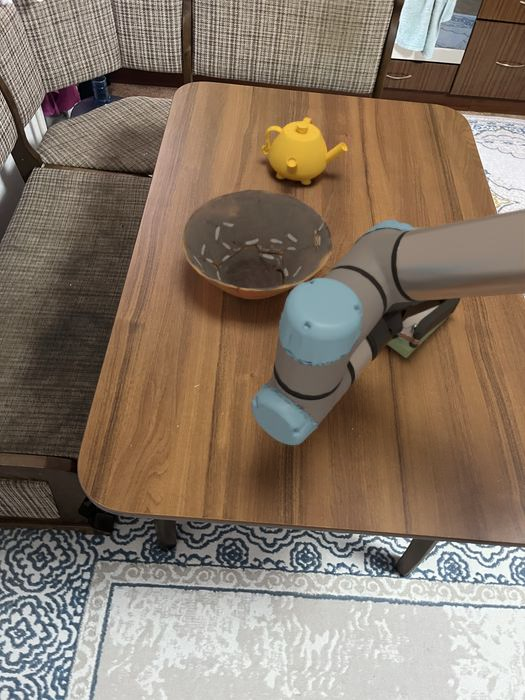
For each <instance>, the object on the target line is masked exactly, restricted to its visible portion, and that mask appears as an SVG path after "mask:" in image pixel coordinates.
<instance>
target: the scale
mask: <svg viewBox="0 0 525 700" xmlns="http://www.w3.org/2000/svg"><path fill="white" fill-rule="evenodd" d="M437 307H438V306H436V307H434V308H431V309H429V310H426V311H424V312H421V313H419V314H416V315H414V316H411V317H409V318H407V319H406V320H405V321H403V327H404V328H408V327H409V326H411V325H413V324H414V323H415V324H417V325H418V323H419V322H420V320H422V319H423V318H424V317H425V316H427V315H428V314H429V313H430V312H432V311H433V310H434V309H436V308H437ZM449 317H450V316H448V317H447V318H446V319H445V320H443V321H442V322H441V323H440V324H438V325H437V326H436V327H435V328H433V329H432V330H431V331H430V332H428V333H427V334H426V335H425V336H423V337H422V339H421V341H420V343H419V345H418V347H420V346H421V344H423V343H424V342H425V341H426V340H427V339H428V338H429V337H430V336H431V335H432V334H433V333H434V332H435V331H436V330H437V329H438V328H439V327H440V326H441V325H442V324H443V323H444V322H445V321H447V320H448V318H449ZM386 346H388V347H390V348H391V349H393V350H394V351H395V352H397V353H398V354H400V355H401V356H402V357H404V358H405V359H407V358H408V357H409V356H410V355H411V354H412V353H414V352H415V350H417V348H412V347H410V346H409V341H408V340H405V339H403V338H401V337H398V338H396V339H393V340H391V341H389V343H388V344H387V345H386Z"/></svg>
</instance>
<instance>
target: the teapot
mask: <svg viewBox="0 0 525 700" xmlns="http://www.w3.org/2000/svg"><path fill="white" fill-rule="evenodd" d="M271 132H276V133H277V135H276V136H275V137H274V139H273V141H272V142H271V138H270V135H271V134H270V133H271ZM347 151H348V146H347V144H346V143H345V142H343V141H341V142H340V143H338V144H337V145H336V146H334V147H333V148H332V149H330V150H329V151H328V148H327V144H326V141H325V139H324V137H323V134H322V132H321V131H320V129H319V128H318V127H317V126H315V125H314V124H313V120H312V118H310V117H307V116H305V117H304V118H303V120H300V121H299V120H298V121H293V122H289V123H287V124H286V125H285V126H284V127H281V126H279V125H270V126H269V127H268V128H267V129H266V131H265V144H263V145H262V146H261V153H262V154H263V155H265V156H268V161H269V164H270V166H271V167H272V169H273V170H274V171H275V172H276V174H275V176H276V178H277V179H278V180H284V179H288V180H291V181H297V182H299V181H300V183H301V184H302V185H306V186H308V185H310V184H312V179H314V178H316V177H317V176H319V175H321V174H322V173H323V172H325V171H324V170H325V169H326V168H327V167H328V164H330V163H331V162H333V161H334V160H335V159H337V158H338V157H340V156H341V155H343V154H345V153H346V152H347Z"/></svg>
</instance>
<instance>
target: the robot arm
mask: <svg viewBox="0 0 525 700" xmlns="http://www.w3.org/2000/svg"><path fill="white" fill-rule="evenodd" d="M414 228H415V227H414V226H412V225H410V224H409V223H406V222H401V221H397V220H396V219H387V220H382V221H379V222H378V223H376V224H374V225H373V226H372V227H371V228H369V230H368V231H366V232H364V233H363V234H362V235H361V236H360V237H358V238H357V239H356V241H355V242H354V243H353V245H352V247H351V248H350V249H349V250H348V251H347V252H346V253H345V254H344V256H342V258H341V259H340V260H338V262H337V263H336V264H335V265H333V267H332V268H331V270H330V271H329V272H328V273H326V275H324V276H323V277H315V278H311V279H310V280H307V281H306V282H302V283H300V284H298V285H297V286H296V287H294V288H292V289H291V291H290V292H289V294H288V295H287V297H286V299H285V302H284V306H283V310H282V312H281V313H280V319H279V321H278V335H277V336H278V337H277V344H276V350H275V359H274V361H273V362H274V363H273V369H272V375H271V377H270V379H269V380H268V381H267V382H266V383H263V384H262V385H261V386H260V388H259V390H258V391H257V392H256V394H255V395H254V397H253V398H252V400H251V402H250V409H251V413H252V416H253V417H254V420H255V421H256V423H257V424H258V425H259V427H260V428H261V429H262V430H264V432H265V433H267V434H268V435H269V436H271V438H273V439H274V440H276V441H277V442H279V443H281V444H285V445H287V446H297V445H301V444H302V443H303V442H304V441H306V439H307V438H308V437H309V436H310V435H311V434H312V433H313V432H314V431H316V430H318V428H320V427H319V425H321V423H322V421H323V420H324V419H325V418H326V417H327V415H329V413H330V412H331V411H332V409H333V408H334V407H335V406H336V405H337V403H339V401H340V400H341V398H342V397H343V396H344V395H345V394H346V393H347V391H349V389H350V388H351V387H352V386H353V384H354V383H355V382H356V381H357V380H358V379H359V377H360V376H362V374H363V373H364V372H365V371H366V369H367V368H368V367H369V366H370V365H371V364H372V362H373V361H374V360H375V359H376V358H377V357H378V356H379V355H380V353H381V352H382V351H383V350H384V349H385V347H386V346H388V345H387V344H388V343H389V341H391V340H393V339H396V338H398V337H401V338H403V339H405V340H408V341H409V346H410V347H412V348H416V349H418V348H419V346H420V345H419V343H420V341H421V339H422V337H423V336H425V335H426V334H427V333H428V332H430V331H431V330H432V329H433V328H435V327H436V326H437V325H438V324H440V323H441V322H442V321H443V320H445V319H446V318H447V317H448V316H449V317H450V316H451V315H453V314H454V313H455V310H456V309H457V307H458V305H459V303H460V302H461V299H466V298H481V297H494V296H495V297H497V296H510V295H523V294H525V208H522V209H517V210H511V211H506V212H499V213H496V214H495V213H494V214H489V215H485V216H480V217H474V218H469V219H463V220H458V221H453V222H447V223H443V224H436V225H432V226H427V227H423V228H421V229H414ZM436 306H438V307H437V308H436V309H434V310H433V311H432V312H430V313H429V314H428V315H427V316H425V317H424V318H423V319H422V320H420V322H419V323H418V325H417V324H415V323H414V324H413V325H411V326H409V327H408V328H404V327H403V321H405V320H406V319H407V318H409V317H411V316H414V315H416V314H419V313H421V312H424V311H426V310H429V309H431V308H434V307H436ZM449 317H448V318H449ZM448 318H447V319H448ZM447 319H446V320H447ZM446 320H445V321H446ZM418 345H419V346H418Z"/></svg>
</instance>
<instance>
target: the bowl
mask: <svg viewBox="0 0 525 700" xmlns="http://www.w3.org/2000/svg"><path fill="white" fill-rule="evenodd" d="M181 243H182V244H181V247H182V250H183V252H184V255H185V259H186V261H187V262H188V263H189V265H190V266H191V267H192V268H193V269H194V271H196V272H197V274H199V275H200V276H201V277H202V278H203V279H205V280H206V281H208V282H209V283H211V284H212V285H213V286H215V287H217V288H219V289H220V290H222V291H224V292H225V293H227V294H230V295H232V296H234V297H237V298H240V299H245V300H261V299H267V298H271V297H275V296H277V295H279V294H282V293H285V292H287V291H290V290H293V289H294V288H295V287H296V286H297V285H298V284H300V283H302V282H304V283H305V282H308V281H310V280H311V279H313V277H314V276H315V275H316V274H318V273H319V272H321V270H322V269H323V268H324V267H325V265H326V263H327V262H328V260H329V259H330V257H331V255H332V253H333V240H332V232H331V230H330V227H329V226H328V224H327V222H326V220H325V219H324V217H323V216H322V215H321V214H320V213H319V212H318V211H317V209H315V208H313V207H312V206H310V205H309V204H308V203H306V202H305V200H302V199H300V198H297V197H295V196H292V195H290V194H287V193H282V192H277V191H271V190H264V189H245V190H244V189H243V190H239V191H235V192H234V191H232V192H229V193H225V194H224V193H223V194H221V195H218V196H215V197H213V198H211V199H210V200H208V201H206V202H204V203H203V204H202V205H200V206H199V207H198V208H196V209H195V210H194V211H193V212H192V213H191V214H190V216H189V217H188V219H187V220H186V222H185V223H184V228H183V232H182V237H181ZM283 278H284V279H283Z"/></svg>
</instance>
